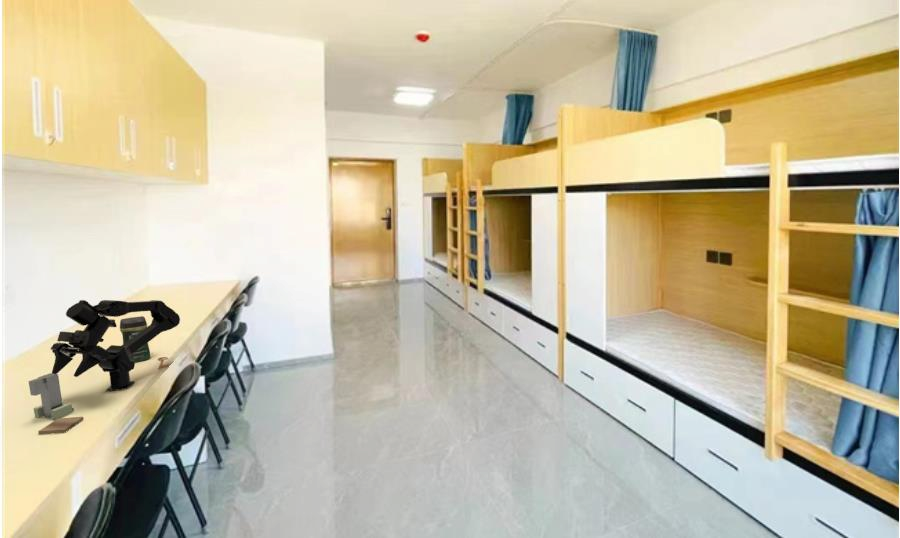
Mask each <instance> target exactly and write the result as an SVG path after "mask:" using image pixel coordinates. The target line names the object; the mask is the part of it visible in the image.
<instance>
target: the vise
mask: <svg viewBox="0 0 900 538" xmlns="http://www.w3.org/2000/svg"><path fill="white" fill-rule="evenodd" d="M73 411H74V412H75V409H74V407H73V406H72V403H66V404H63V406H60V407H58V408H55V409H53V410H51V416H52V418H51V420H52V421H55V420H57V419H58V418H65V417H66V415H67V416H68V414H69V415H71V414H73V413H74V412H73ZM72 412H73V413H72ZM33 413H34V418H38V419H39V418H43V417H44V413H43V407H42V404H41V405H38V406H36V407H34V408H33ZM70 413H71V414H70Z"/></svg>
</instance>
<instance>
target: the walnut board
mask: <svg viewBox="0 0 900 538" xmlns="http://www.w3.org/2000/svg"><path fill="white" fill-rule="evenodd" d="M83 419H84V416H75V417H74V416H73V417H62V418H58V419H57V420H52V422H50V423H49V424H48V425H46V426H45V427H42V428H41V429H40V430H38V431H37V433H38V435H39V434H40V435H51V433H54V434H65V433H67V432H68V431H70V430H71V429H72V427H73V428H74V427H75V425H76V424H77V425H79V424H80V423H81V422H83V421H84V420H85V419H84V420H83ZM82 420H83V421H82ZM79 422H80V423H79ZM77 425H76V426H77ZM69 429H70V430H69ZM66 431H67V432H66ZM64 432H65V433H64Z"/></svg>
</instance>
